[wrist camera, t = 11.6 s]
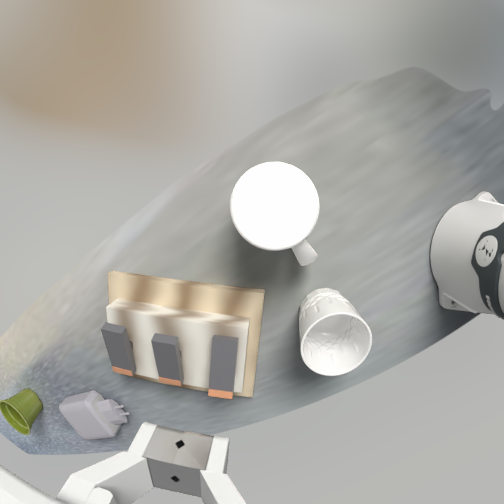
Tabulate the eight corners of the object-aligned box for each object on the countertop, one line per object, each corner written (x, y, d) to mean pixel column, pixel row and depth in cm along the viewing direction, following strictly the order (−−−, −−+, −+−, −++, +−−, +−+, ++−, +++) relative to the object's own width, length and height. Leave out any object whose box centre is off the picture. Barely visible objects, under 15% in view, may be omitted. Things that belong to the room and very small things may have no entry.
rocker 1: (125, 326, 35) (121, 334, 33) (136, 369, 38) (132, 376, 37) (105, 322, 35) (100, 329, 34) (117, 364, 38) (113, 371, 37)
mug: (288, 144, 26) (354, 255, 28) (284, 156, 36) (333, 237, 38) (212, 193, 28) (281, 299, 29) (228, 191, 38) (279, 271, 39)
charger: (145, 419, 47) (95, 428, 49) (116, 381, 46) (68, 394, 48) (137, 436, 42) (85, 441, 45) (105, 397, 41) (57, 407, 43)
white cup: (329, 345, 41) (342, 385, 31) (283, 320, 41) (286, 358, 31) (362, 300, 40) (385, 333, 30) (315, 272, 39) (329, 299, 29)
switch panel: (264, 289, 40) (263, 305, 34) (252, 391, 44) (250, 415, 38) (112, 270, 41) (92, 282, 35) (121, 368, 45) (106, 386, 39)
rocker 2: (178, 336, 34) (174, 345, 33) (183, 378, 38) (181, 386, 37) (154, 332, 34) (150, 341, 33) (162, 374, 38) (159, 382, 37)
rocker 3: (238, 337, 36) (237, 341, 34) (233, 394, 36) (232, 399, 35) (214, 334, 36) (211, 338, 34) (210, 391, 36) (208, 396, 35)
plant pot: (17, 374, 48) (-5, 393, 40) (47, 396, 49) (26, 417, 40) (21, 400, 50) (2, 419, 42) (49, 420, 51) (31, 441, 42)
